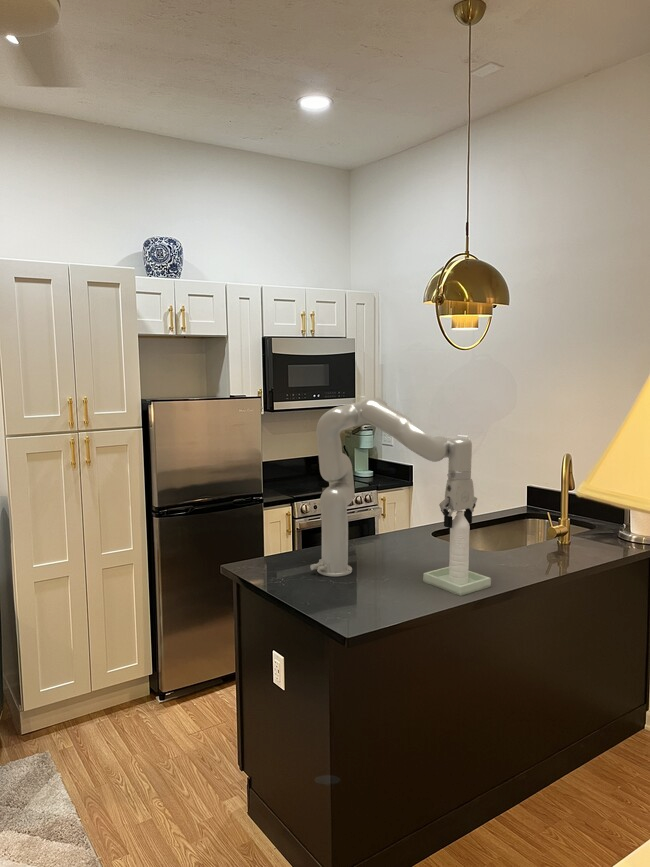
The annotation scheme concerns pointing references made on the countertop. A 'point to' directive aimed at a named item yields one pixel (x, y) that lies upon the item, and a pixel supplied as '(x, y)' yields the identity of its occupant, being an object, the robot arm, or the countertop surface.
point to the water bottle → (459, 549)
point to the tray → (442, 581)
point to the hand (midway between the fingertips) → (458, 525)
